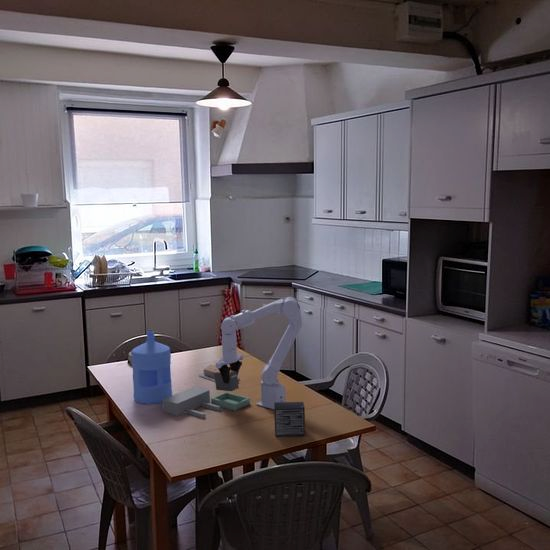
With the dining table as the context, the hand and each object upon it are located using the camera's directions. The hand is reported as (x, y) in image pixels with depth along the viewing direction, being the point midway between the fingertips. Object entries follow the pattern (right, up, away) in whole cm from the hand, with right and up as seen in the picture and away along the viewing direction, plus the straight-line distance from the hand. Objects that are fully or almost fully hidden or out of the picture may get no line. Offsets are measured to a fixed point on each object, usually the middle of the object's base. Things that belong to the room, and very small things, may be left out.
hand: (230, 381), depth 230 cm
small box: (+23, -14, -26) cm, 37 cm away
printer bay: (-13, -10, -4) cm, 17 cm away
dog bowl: (-47, -2, +60) cm, 76 cm away
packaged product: (-8, -5, +34) cm, 35 cm away
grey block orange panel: (-1, -3, +1) cm, 4 cm away
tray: (0, -10, +1) cm, 10 cm away
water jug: (-33, -9, +9) cm, 35 cm away
